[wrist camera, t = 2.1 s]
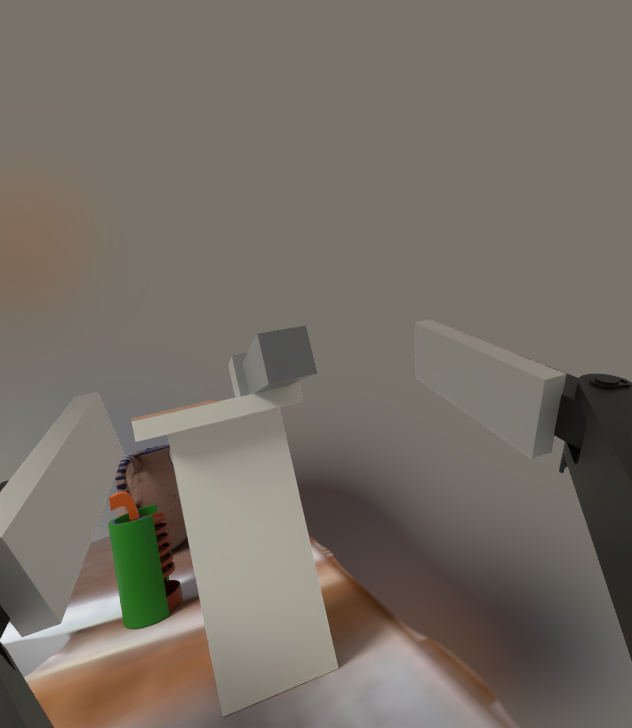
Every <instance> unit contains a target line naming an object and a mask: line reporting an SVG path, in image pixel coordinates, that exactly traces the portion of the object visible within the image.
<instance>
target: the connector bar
mask: <svg viewBox="0 0 632 728" xmlns="http://www.w3.org/2000/svg"><path fill="white" fill-rule="evenodd" d="M229 370H230V375H231V380H232V384H233V389H234V394H235V398H237V397H241V396H246V395H250V394H254V393H259V392H263V391H267V390H272V389H276V388H281V387H285V386H289V385H292V384H294V383H296V382H299V381H301V380H303V379H306V378H308V377H310V376H312V375H315V374H317V371H316V367H315V363H314V358H313V354H312V350H311V346H310V342H309V338H308V333H307V329H306V326H301V327H296V328H290V329H284V330H277V331H272V332H266V333H260V334H257V336H256V337H255V340H254V342H253V343H252V345H251V347H250V349H249V351H248V353H245V354H239V355H234V356H232V357H231V360H230V363H229Z"/></svg>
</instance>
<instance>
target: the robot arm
mask: <svg viewBox="0 0 632 728" xmlns="http://www.w3.org/2000/svg"><path fill="white" fill-rule="evenodd" d="M415 378H417V379H418V380H420V381H421V382H423V383H424V384H425V385H427V386H428V387H430V388H431V389H432V390H434V391H435V392H437V393H439V394H440V395H441V396H442V397H444V398H445V399H447V400H448V401H450V402H451V403H452V404H454V405H455V406H457V407H458V408H460V409H461V410H462V411H464V412H465V413H467V414H468V415H470V416H471V417H472V418H474V419H475V420H477V421H478V422H480V423H481V424H482V425H484V426H485V427H487V428H488V429H490V430H491V431H492V432H494V433H495V434H497V435H498V436H499V437H501V438H502V439H504V440H505V441H507V442H508V443H509V444H511V445H512V446H514V447H515V448H517V449H518V450H519V451H521V452H522V453H524V454H525V455H527V456H528V457H529V458H531V459H534V458H536V457H539V456H542V455H545V454H548V453H551V451H552V446H553V441H554V436H557V437H558V438H560V439H562V440H564V441H565V444H564V449H563V454H562V458H561V463H560V469H559V472H561V473H563V472H564V468H566V467H567V466H568V468H569V471H570V474H571V477H572V481H573V483H574V487H575V489H576V493H577V496H578V499H579V502H580V505H581V508H582V511H583V514H584V517H585V520H586V523H587V526H588V529H589V532H590V535H591V538H592V541H593V544H594V547H595V550H596V553H597V556H598V560H599V563H600V566H601V569H602V572H603V574H604V578H605V581H606V584H607V586H608V590H609V593H610V596H611V599H612V602H613V605H614V608H615V611H616V614H617V617H618V620H619V623H620V626H621V629H622V632H623V636H624V639H625V641H626V645H627V647H628V650H629V654H630V657H631V660H632V383H631V382H630V381H628V380H626V379H623V378H620V377H616V376H612V375H605V374H588V375H582V376H581V377H579V378H577V377H574V376H572V375H569V374H567V373H564V372H561V371H559V370H557V369H554V368H551V367H549V366H546V365H543V364H541V363H539V362H536V361H533V360H531V359H529V358H526V357H524V356H521V355H518V354H515V353H512V352H510V351H508V350H505V349H503V348H500V347H497V346H495V345H493V344H490V343H488V342H485V341H483V340H480V339H478V338H475V337H472V336H470V335H467V334H465V333H462V332H460V331H457V330H455V329H452V328H450V327H447V326H445V325H442V324H440V323H437V322H435V321H432V320H430V319H429V320H424V321H420V322H415ZM123 453H124V452H123V449H122V447H121V445H120V442H119V440H118V438H117V436H116V433H115V431H114V428H113V426H112V423H111V421H110V419H109V416H108V414H107V412H106V410H105V407H104V405H103V402H102V400H101V398H100V395H99V393H98V392H95V393H90V394H85V395H81V396H76V397H74V399H73V400H72V401H71V403H70V404H69V405H68V406H67V408H66V409H65V410H64V411H63V413H62V414H61V415H60V417H59V418H58V419H57V420H56V422H55V423H54V424H53V425H52V427H51V428H50V429H49V431H48V432H47V433H46V434H45V436H44V437H43V438H42V439H41V441H40V442H39V443H38V445H37V446H36V447H35V448H34V450H33V451H32V453H31V454H30V455H29V456H28V457H27V459H26V460H25V461H24V462H23V464H22V465H21V466H20V468H19V469H18V470H17V471H16V473H15V474H14V475H13V477H12V478H11V479H10V480H9V481H5V482H2V483H1V484H0V638H1V636H2V634H3V632H4V630H5V628H6V626H7V624H8V622H9V621H10V622H11V624H12V625H13V626H14V627H15V629H16V630H17V631H18V632H19V634H20V635H21V636H22V637H24V636H27V635H30V634H32V633H35V632H38V631H41V630H44V629H47V628H50V627H52V626H55V625H58V624H61V622H62V619H63V616H64V614H65V611H66V608H67V605H68V603H69V600H70V597H71V595H72V592H73V589H74V586H75V584H76V581H77V578H78V576H79V573H80V570H81V567H82V565H83V562H84V559H85V556H86V554H87V551H88V548H89V546H90V543H91V540H92V537H93V535H94V532H95V529H96V527H97V524H98V521H99V518H100V515H101V513H102V510H103V507H104V504H105V502H106V499H107V496H108V494H109V491H110V488H111V486H112V483H113V480H114V478H115V475H116V472H117V469H118V467H119V464H120V461H121V459H122V456H123ZM0 728H54V727H53V725H52V724H51V722H50V720H49V719H48V717H47V716H46V714H45V712H44V711H43V709H42V707H41V706H40V704H39V702H38V701H37V699H36V697H35V696H34V694H33V692H32V691H31V689H30V687H29V686H28V684H27V682H26V681H25V679H24V677H23V676H22V674H21V673H20V671H19V669H18V668H17V666H16V664H15V663H14V661H13V659H12V658H11V656H10V654H9V653H8V651H7V649H6V648H5V647H4V646H3V645H2V643H1V642H0Z"/></svg>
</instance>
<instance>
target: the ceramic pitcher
mask: <svg viewBox="0 0 632 728" xmlns="http://www.w3.org/2000/svg"><path fill="white" fill-rule="evenodd" d="M169 450H170V445H169V444H168V445H162V446H159V447H158V446H157V447H154V448H147V449H146V450H144V451H136V452H132V453H128V454H125V455H123V456H122V459H121V461H120V464H119V467H118V469H117V472H116V475H115V482H116V487H117V490H118V493H119V492H128V493H129V494H130V495H131V496H132V498H133V500H134V502H135V505H136V507H137V509H139V508H143V507H146V506H149V505H153V504H156V506H157V511H158V513H161V512H164V513H166V519H165V520H164V521H162V522H167V524H168V529H167V530H166V531H164V532H169V535H170V539H169V540H168V541H167V542H170V543H171V547H172V548H171V550H173V549H175V548H176V547H178V546H179V545H180V544H181V543H182V542H183V541H184V540H185V539H186V537H187V532H186V527H185V522H184V517H183V511H182V506H181V501H180V496H179V491H178V486H177V481H176V476H175V471H174V466H173V463H172V461H171V459H170V456H169ZM126 513H128V510H127V508H126V507H125V506H121V507H118V509H117V517H119V516H121V515H124V514H126ZM171 550H170V551H171Z"/></svg>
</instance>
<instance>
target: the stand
mask: <svg viewBox="0 0 632 728" xmlns="http://www.w3.org/2000/svg"><path fill="white" fill-rule="evenodd" d="M302 401H303V398H302V394H301V389H300V385H299V383H298V384H294V385H289V386H285V387H281V388H276V389H272V390H267V391H263V392H259V393H254V394H250V395H246V396H241V397H237V398H233V399H229V400H224V401H217V400H211V401H206V402H203V403H198V404H193V405H189V406H184V407H180V408H176V409H171V410H167V411H163V412H158V413H154V414H149V415H145V416H141V417H136V418H132V419H131V420H132V425H133V430H134V436H135V441H136V442H137V441H141V440H145V439H149V438H153V437H157V436H161V435H165V434H167V435H168V440H169V445H170V450H171V455H172V460H173V466H174V471H175V476H176V481H177V486H178V491H179V496H180V501H181V506H182V511H183V517H184V522H185V527H186V532H187V537H188V542H189V547H190V552H191V557H192V563H193V568H194V573H195V578H196V583H197V588H198V593H199V598H200V603H201V608H202V614H203V619H204V624H205V629H206V634H207V639H208V644H209V649H210V654H211V660H212V665H213V670H214V675H215V680H216V685H217V690H218V695H219V700H220V705H221V711H222V716H223V717H224V716H227V715H229V714H231V713H234V712H236V711H239V710H241V709H243V708H246V707H248V706H250V705H253V704H255V703H258V702H260V701H262V700H265V699H267V698H269V697H272V696H274V695H277V694H279V693H281V692H284V691H286V690H289V689H291V688H293V687H296V686H298V685H300V684H303V683H305V682H308V681H310V680H312V679H315V678H317V677H319V676H322V675H324V674H327V673H329V672H331V671H334V670H336V669H338V664H337V659H336V655H335V650H334V646H333V642H332V637H331V633H330V628H329V624H328V620H327V615H326V611H325V606H324V602H323V598H322V593H321V589H320V584H319V580H318V576H317V571H316V567H315V562H314V558H313V553H312V549H311V545H310V540H309V536H308V531H307V527H306V523H305V518H304V514H303V510H302V505H301V501H300V496H299V492H298V487H297V483H296V479H295V474H294V470H293V466H292V461H291V457H290V452H289V448H288V444H287V439H286V435H285V430H284V426H283V422H282V417H281V413H280V408H279V407H281V406H286V405H290V404H294V403H298V402H302Z"/></svg>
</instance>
